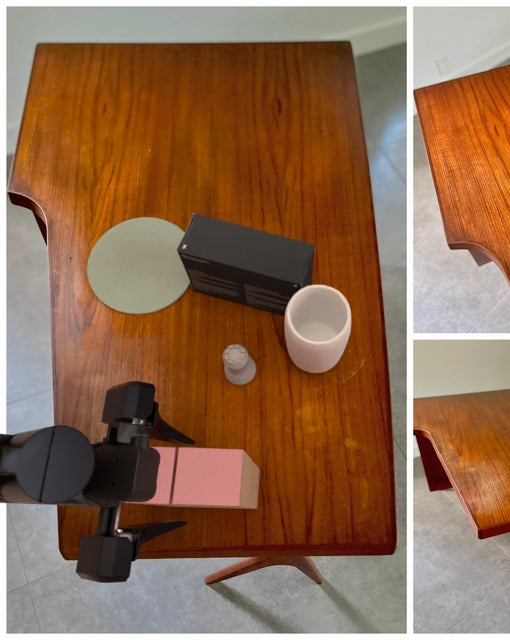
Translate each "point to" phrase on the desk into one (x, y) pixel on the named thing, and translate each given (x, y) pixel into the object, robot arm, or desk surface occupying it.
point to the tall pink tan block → (216, 478)
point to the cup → (317, 327)
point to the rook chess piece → (238, 365)
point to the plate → (138, 266)
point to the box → (245, 263)
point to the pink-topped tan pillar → (165, 478)
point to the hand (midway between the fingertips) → (189, 482)
